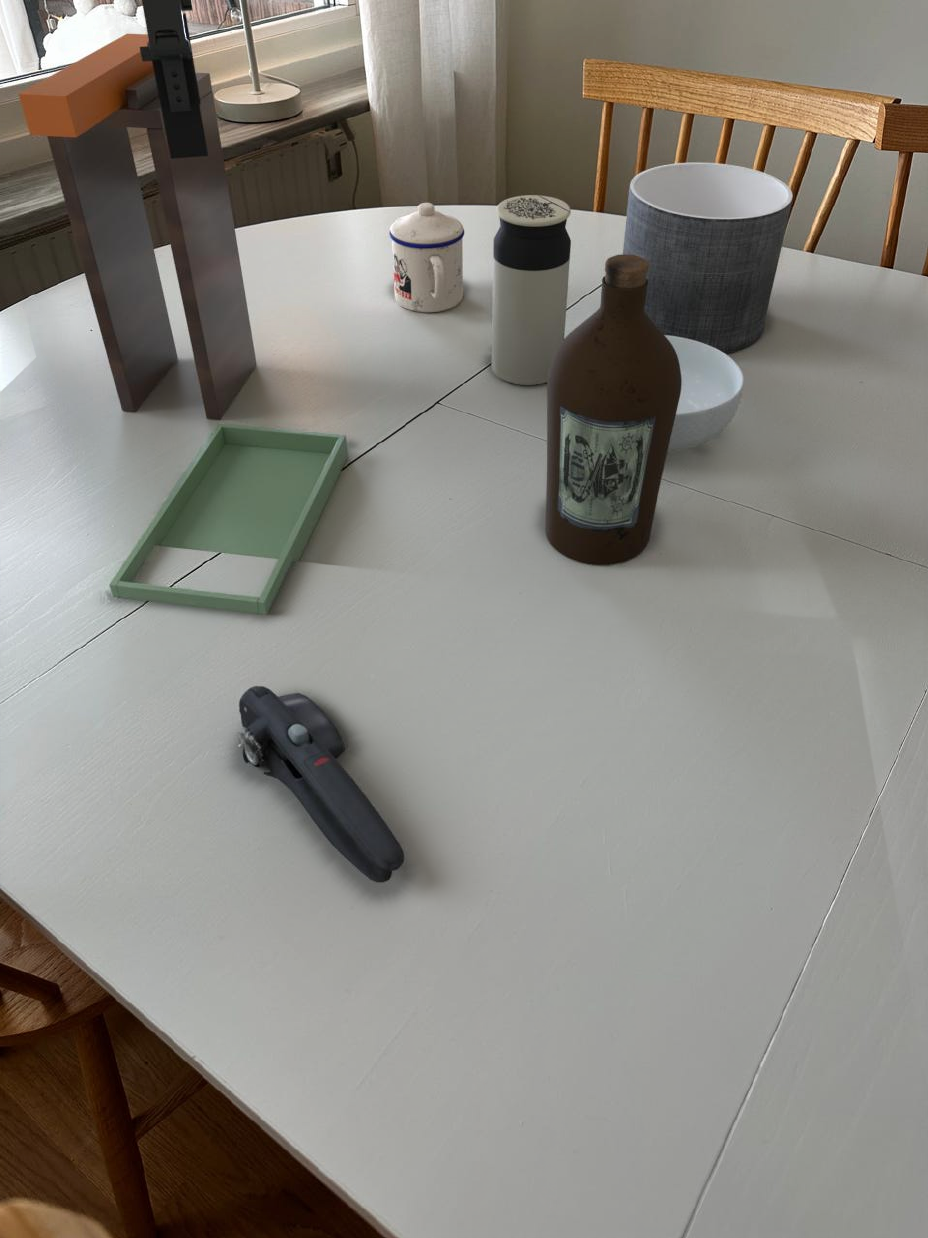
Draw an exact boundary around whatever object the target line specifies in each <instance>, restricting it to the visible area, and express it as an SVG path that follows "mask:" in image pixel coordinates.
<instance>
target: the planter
mask: <svg viewBox="0 0 928 1238" xmlns="http://www.w3.org/2000/svg"><path fill="white" fill-rule="evenodd" d="M793 194H794V193H793V191H792V189H791V188H790V186H789V185H788V184H786V183H785V182H784V181H782V180H780V179H779V178H777V177H776V176H773V175H770V174H768V173H766V172H763V171H760V170H757V169H753V168H749V167H744V166H739V165H733V164H727V163H726V164H725V163H719V162H717V163H716V162H677V163H670V164H665V165H658V166H655V167H652V168H648V169H646V170H643V171H641V172H639V173H638V174H636V175H635V176H634V177H633V178H632V179H631V181H630V182H629V189H628V198H627V199H628V200H627V208H626V216H625V217H626V218H625V227H624V228H625V229H624V237H623V247H622V254H628V255H635V256H639V257H641V258H643V259H645V260H647V261H648V263H649V268H648V274H647V276H646V279H647V280H648V288H647V295H646V301H645V307H644V310H645V312H646V314H647V315H648V317H649V318H650V319H651V320H652V321H653V323H654V324H655V325H656V326H657V327H658V328H659V329H660V331H661V332H662V333H663V334H664V335H669V336H676V337H682V338H686V339H691V340H695V341H698V342H701V343H704V344H706V345H709V346H711V347H714V348H716V349H718V350H720V351H721V352H723V353H725V354H729V353H734V352H738V351H740V350H743V349H745V348H748V347H750V346H751V345H753V344H754V343H756V342H757V341H758V340H759V339H760V338H761V337H762V335H763V333H764V330H765V324H766V318H767V312H768V309H769V304H770V299H771V296H772V292H773V287H774V282H775V278H776V273H777V269H778V264H779V261H780V257H781V251H782V248H783V243H784V239H785V234H786V230H787V226H788V222H789V216H790V213H791V208H792V204H793V199H794V195H793Z"/></svg>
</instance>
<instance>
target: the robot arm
mask: <svg viewBox="0 0 928 1238" xmlns="http://www.w3.org/2000/svg"><path fill="white" fill-rule="evenodd" d="M141 4H142V10H143V15H144V22H145V26H146V32H147V34H148V38H149V41H148V42H147V45H148V46H145V47H140V52H141V57H142V61H143V62H145V61H152V63H153V68H154V74H155V79H156V84H157V89H158V94H159V99H160V104H161V110H162V115H163V120H164V125H165V130H166V135H167V140H168V146H169V151H170V156H171V159H175V158H188V157H201V156H208V151H207V145H206V140H205V134H204V128H203V122H202V116H201V110H200V104H201V102H200V96H199V90H198V84H197V78H196V73H197V72H196V67H195V60H194V56H193V55H194V54H193V48H192V43H191V36H190V32H189V31H190V30H189V26H188V18H187V13H183V12H191V11H192V12H193V11H194V10H193V4H192V0H141Z"/></svg>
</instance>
